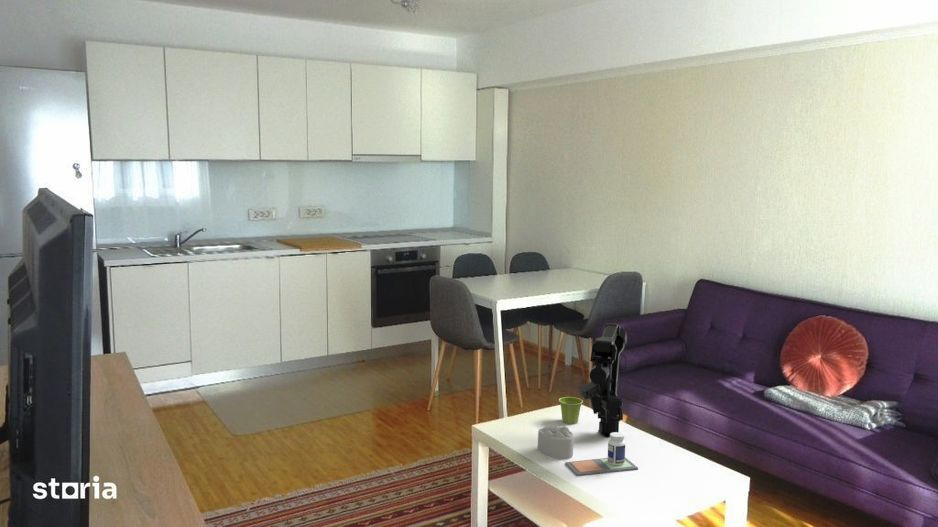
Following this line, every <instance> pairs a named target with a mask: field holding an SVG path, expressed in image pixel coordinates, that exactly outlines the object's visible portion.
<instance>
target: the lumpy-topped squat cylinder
mask: <svg viewBox="0 0 938 527" xmlns="http://www.w3.org/2000/svg"><path fill="white" fill-rule="evenodd" d="M537 436H538V437H537V452H539V451H540V452H541V454H542V455H544V456H546V457H548V458H552V459H558V460H570V459H571V458H573V456H574V433H573V432H572V431H570V429H569V427H567V426H559V425H555V424H552V425H550V426H544V427H542V428H539V429H538V431H537ZM540 452H539V453H540Z"/></svg>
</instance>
